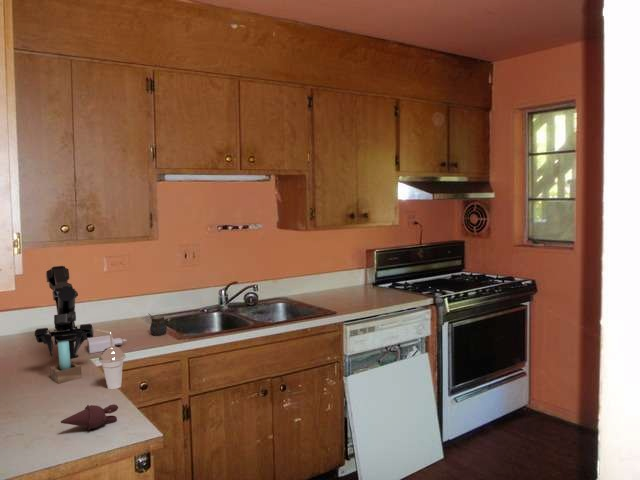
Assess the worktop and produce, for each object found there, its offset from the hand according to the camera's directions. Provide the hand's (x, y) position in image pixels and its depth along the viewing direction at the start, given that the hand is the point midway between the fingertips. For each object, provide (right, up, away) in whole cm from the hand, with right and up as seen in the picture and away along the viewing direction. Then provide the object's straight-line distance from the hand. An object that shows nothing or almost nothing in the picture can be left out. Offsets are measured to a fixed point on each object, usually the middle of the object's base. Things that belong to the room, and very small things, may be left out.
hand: (63, 354), depth 195 cm
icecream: (+26, -13, -39) cm, 48 cm away
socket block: (0, -9, +2) cm, 9 cm away
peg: (0, -9, +2) cm, 9 cm away
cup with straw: (+20, -10, -7) cm, 24 cm away
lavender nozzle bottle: (+2, -5, +36) cm, 37 cm away
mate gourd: (+18, -2, +54) cm, 57 cm away
